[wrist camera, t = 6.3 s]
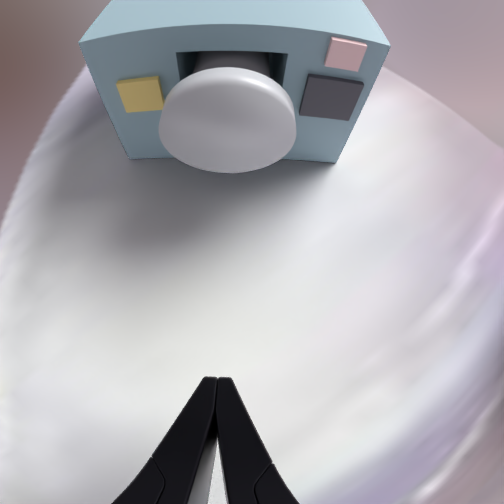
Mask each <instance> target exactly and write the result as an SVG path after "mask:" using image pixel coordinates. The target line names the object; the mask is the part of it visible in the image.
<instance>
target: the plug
mask: <svg viewBox="0 0 504 504" xmlns="http://www.w3.org/2000/svg"><path fill="white" fill-rule="evenodd" d="M159 137H160V140H161V142H162V144H163V146H164V147H165V148H166V150H167V151H168V152H169V153H170V154H171V155H172V156H174V157H175V158H177V159H178V160H180V161H181V162H183V163H185V164H187V165H190V166H192V167H195V168H198V169H202V170H205V171H211V172H219V173H241V172H248V171H253V170H258V169H261V168H264V167H267V166H269V165H271V164H273V163H275V162H277V161H278V160H280V159H281V158H283V157H284V156H285V155H286V154H287V153H288V152H289V151H290V150H291V148H292V146H293V145H294V142H295V139H296V122H295V113H294V107H293V103H292V101H291V98H290V96H289V95H288V94H287V92H286V91H285V90H284V89H283V88H282V87H281V86H280V85H279V84H278V83H276V82H275V81H274V80H272V79H270V66H269V52H259V51H198V53H197V57H196V62H195V66H194V70H193V74H192V75H190V76H188V77H186V78H184V79H183V80H181V81H180V82H179V83H177V84H176V85H175V86H174V87H173V88H172V89H171V91H170V92H169V94H168V95H167V97H166V99H165V102H164V106H163V110H162V114H161V118H160V122H159Z"/></svg>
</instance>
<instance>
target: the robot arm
mask: <svg viewBox="0 0 504 504" xmlns="http://www.w3.org/2000/svg"><path fill="white" fill-rule="evenodd" d="M217 440H218V444H219V453H220V460H221V468H222V475H223V482H224V488H225V495H226V501H227V504H299V502H298V501H297V500H296V499H295V497H294V496H293V494H292V493H291V492H290V490H289V489H288V487H287V486H286V484H285V483H284V481H283V479H282V478H281V476H280V474H279V473H278V471H277V469H276V467H275V465H274V464H273V463H272V460H271V458H270V456H269V454H268V452H267V450H266V448H265V446H264V444H263V442H262V440H261V438H260V436H259V434H258V432H257V430H256V428H255V426H254V424H253V422H252V420H251V418H250V416H249V414H248V412H247V410H246V408H245V405H244V403H243V401H242V399H241V397H240V395H239V393H238V391H237V388H236V386H235V384H234V382H233V380H232V378H230V377H219V378H217V377H207V376H206V377H204V378H203V379H202V381H201V382H200V384H199V385H198V387H197V388H196V390H195V391H194V393H193V394H192V396H191V397H190V399H189V400H188V402H187V403H186V405H185V407H184V408H183V410H182V411H181V413H180V414H179V416H178V417H177V419H176V420H175V422H174V423H173V425H172V426H171V428H170V429H169V431H168V432H167V434H166V435H165V437H164V438H163V439H162V441H161V442H160V444H159V445H158V447H157V448H156V450H155V451H154V453H153V454H152V457H150V458H149V460H148V461H147V463H146V464H145V466H144V467H143V468H142V470H141V471H140V472H139V474H138V475H137V476H136V478H135V479H134V480H133V481H132V482H131V483H130V485H129V486H128V487H127V488H126V489H125V490H124V491H123V492H122V493H121V494H120V495H119V496H118V497H117V498H116V499H115V500H114V502H113V503H112V504H208V497H209V491H210V485H211V479H212V472H213V466H214V460H215V454H216V448H217Z"/></svg>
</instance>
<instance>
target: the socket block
mask: <svg viewBox="0 0 504 504" xmlns="http://www.w3.org/2000/svg"><path fill="white" fill-rule="evenodd" d="M78 43H79V46H80V48H81V50H82V53H83V56H84V58H85V61H86V63H87V66H88V68H89V71H90V73H91V75H92V78H93V80H94V83H95V85H96V87H97V90H98V92H99V94H100V97H101V99H102V101H103V103H104V106H105V108H106V110H107V112H108V115H109V117H110V119H111V121H112V124H113V126H114V128H115V130H116V132H117V134H118V136H119V139H120V141H121V143H122V145H123V147H124V149H125V151H126V153H127V155H128V157H129V159H145V158H173V157H174V156H172V155H171V154H170V153H169V152H168V151H167V150H166V148H165V147H164V146H163V144H162V142H161V140H160V137H159V122H160V118H161V114H162V110H163V106H164V102H165V99H166V97H167V95H168V94H169V92H170V91H171V89H172V88H173V87H174V86H175V85H176V84H177V83H179V82H180V81H181V80H183V79H184V78H186V77H188V76H190V75H192V74H193V70H194V66H195V62H196V57H197V53H198V51H259V52H269V66H270V79H272V80H274V81H275V82H276V83H278V84H279V85H280V86H281V87H282V88H283V89H284V90H285V91H286V92H287V94H288V95H289V96H290V98H291V101H292V103H293V107H294V113H295V122H296V139H295V142H294V145H293V146H292V148H291V150H290V151H289V152H288V153H287V154H286V155H285V156H284V157H283V158H281V159H290V160H306V161H319V162H331V163H336V162H337V160H338V158H339V156H340V154H341V152H342V150H343V148H344V146H345V144H346V142H347V140H348V138H349V135H350V133H351V131H352V129H353V127H354V125H355V123H356V121H357V119H358V117H359V115H360V113H361V110H362V108H363V106H364V104H365V102H366V100H367V98H368V95H369V93H370V91H371V89H372V87H373V85H374V83H375V80H376V78H377V76H378V74H379V72H380V69H381V67H382V65H383V62H384V60H385V58H386V56H387V54H388V52H389V49H390V47H391V45H390V44H389V42H388V40H387V39H386V37H385V35H384V33H383V32H382V30H381V29H380V27H379V25H378V24H377V22H376V21H375V19H374V18H373V16H372V15H371V13H370V12H369V10H368V9H367V7H366V6H365V4H364V3H363V2H362V0H112V1H111V2H110V3H109V4H108V5H107V7H106V8H105V9H104V10H103V12H102V13H101V14H100V15H99V16H98V17H97V19H96V20H95V21H94V23H93V24H92V25H91V26H90V28H89V29H88V30H87V32H86V33H85V34H84V36H83V37H82V38H81V40H80V41H79V42H78Z"/></svg>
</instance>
